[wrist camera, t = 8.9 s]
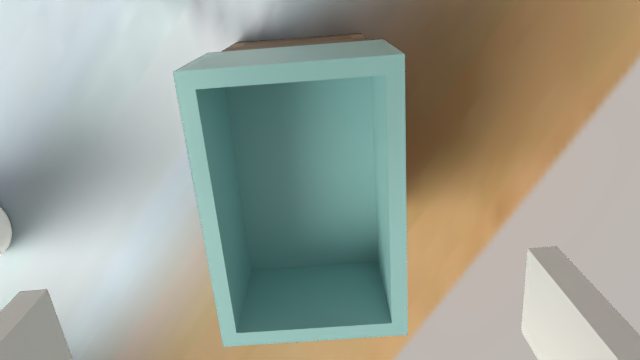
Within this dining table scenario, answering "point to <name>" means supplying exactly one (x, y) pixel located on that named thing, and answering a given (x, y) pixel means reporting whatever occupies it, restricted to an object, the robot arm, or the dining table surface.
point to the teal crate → (301, 188)
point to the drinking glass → (4, 232)
